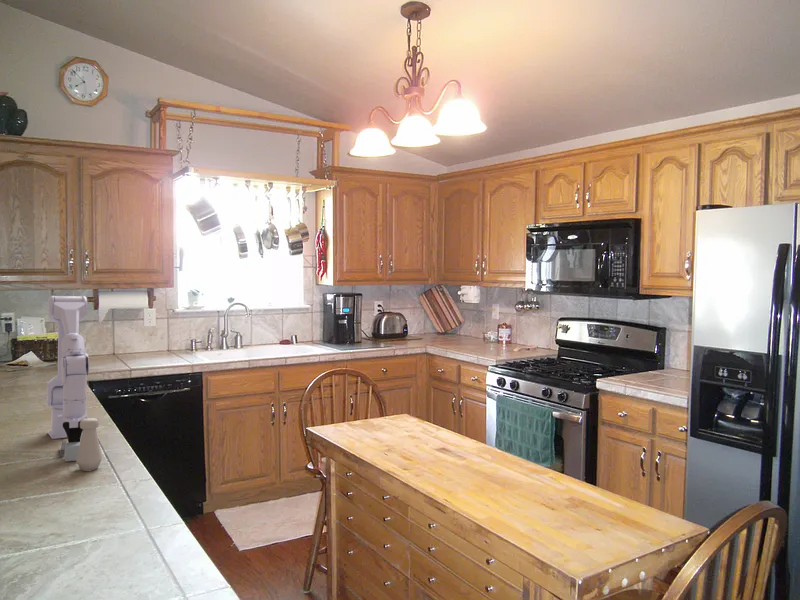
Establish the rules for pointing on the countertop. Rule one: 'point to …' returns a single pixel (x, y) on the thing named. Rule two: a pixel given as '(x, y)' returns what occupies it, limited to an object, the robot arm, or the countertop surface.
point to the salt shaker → (89, 446)
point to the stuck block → (71, 451)
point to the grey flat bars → (62, 449)
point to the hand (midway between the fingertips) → (74, 447)
